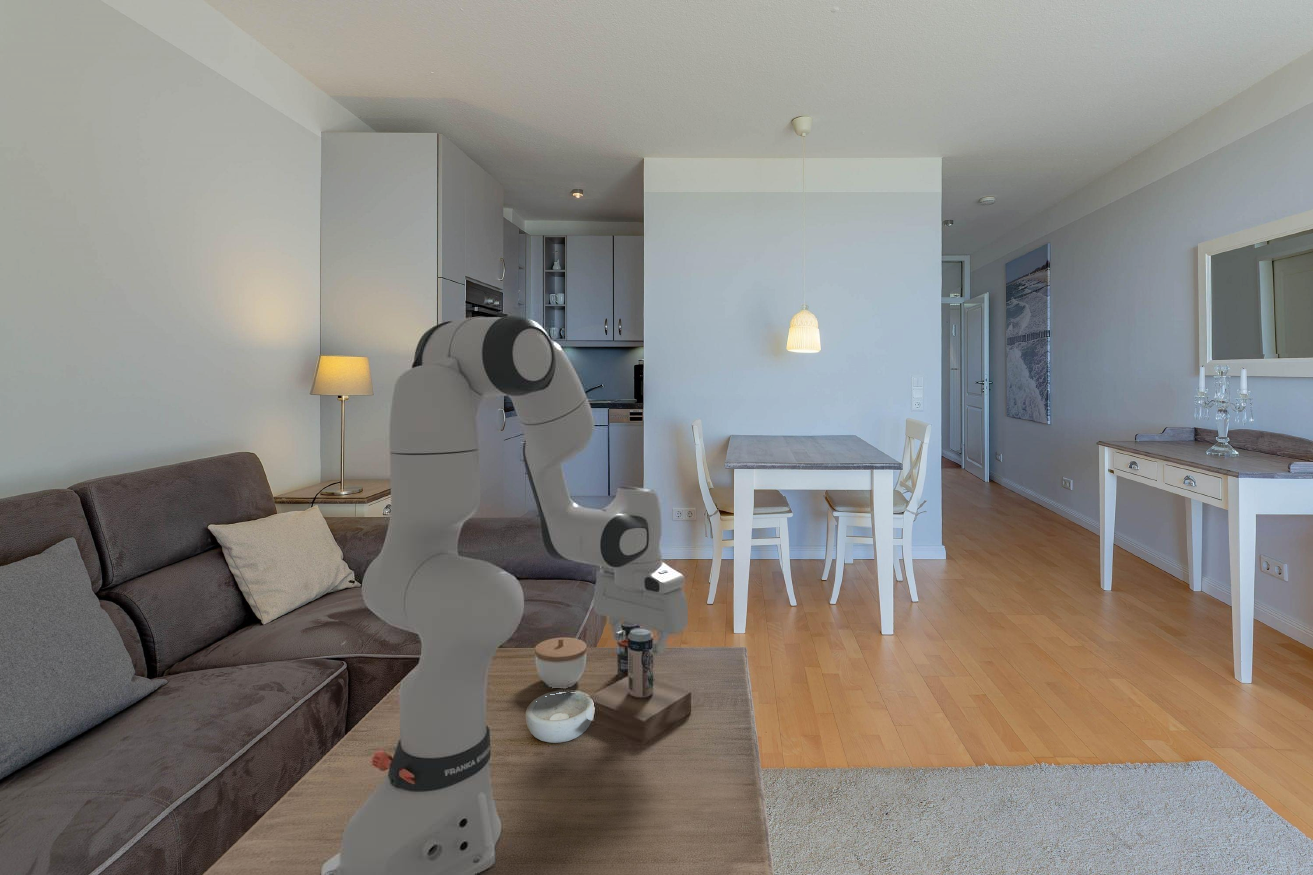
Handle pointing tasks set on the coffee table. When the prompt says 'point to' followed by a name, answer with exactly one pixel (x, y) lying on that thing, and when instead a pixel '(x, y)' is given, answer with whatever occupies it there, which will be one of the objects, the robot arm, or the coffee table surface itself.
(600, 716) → the walnut block
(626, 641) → the supplement bottle
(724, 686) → the coffee table surface
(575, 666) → the lidded jar
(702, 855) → the coffee table surface
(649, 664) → the beer can
